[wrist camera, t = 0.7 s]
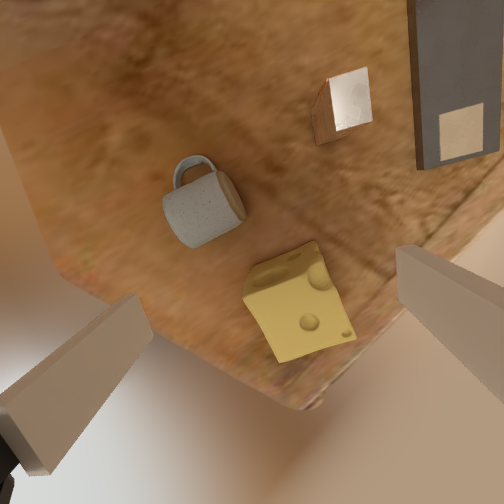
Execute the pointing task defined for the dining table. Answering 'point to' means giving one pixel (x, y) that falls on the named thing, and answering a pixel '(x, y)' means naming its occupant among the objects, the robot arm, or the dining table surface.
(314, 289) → the cheese
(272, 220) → the dining table surface
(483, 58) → the rail
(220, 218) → the ceramic mug
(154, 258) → the dining table surface
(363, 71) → the loose carton
